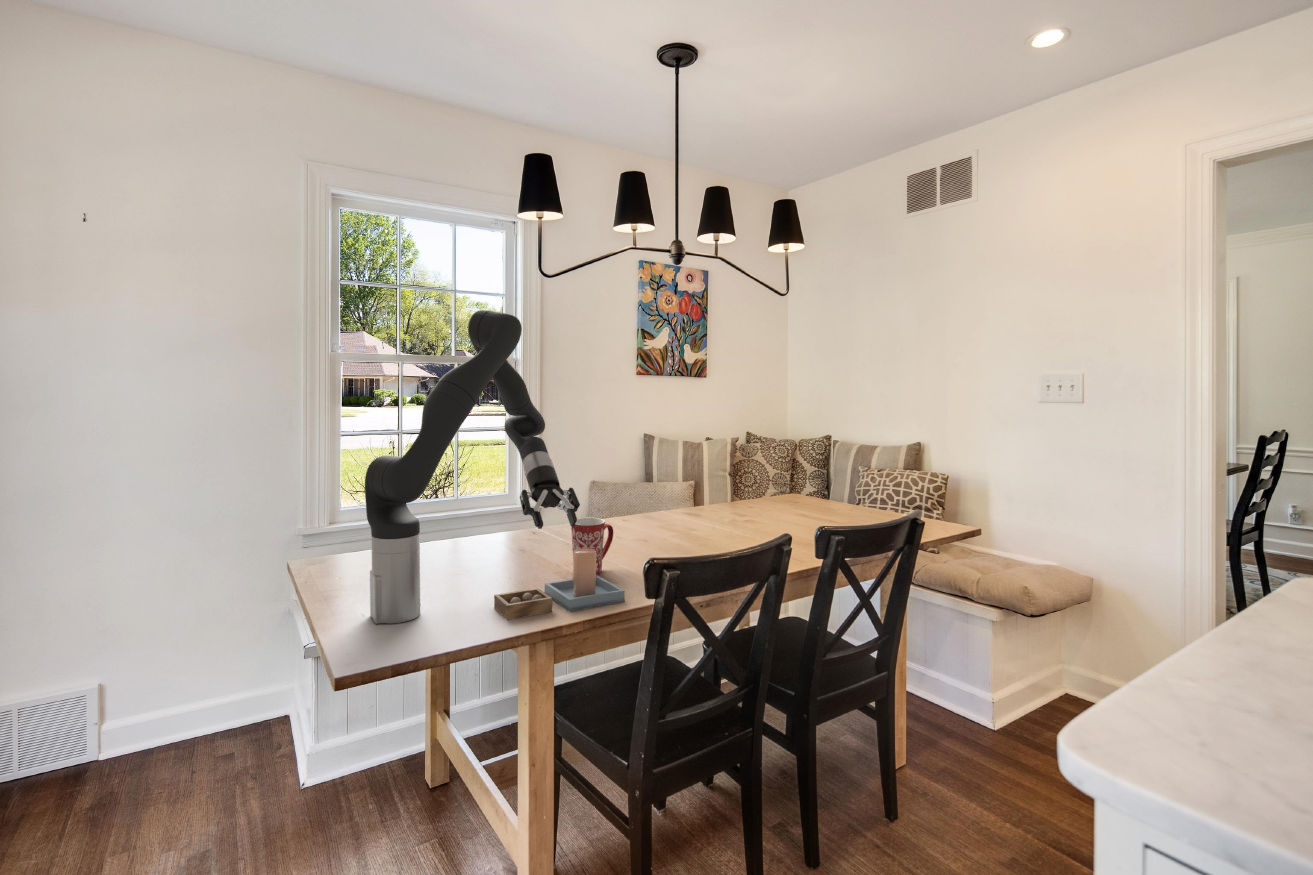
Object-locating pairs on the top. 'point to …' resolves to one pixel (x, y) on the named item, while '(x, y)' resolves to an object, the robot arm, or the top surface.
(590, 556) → the wooden block
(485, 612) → the top surface
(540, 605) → the parts tray
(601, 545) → the mug
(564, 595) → the dish
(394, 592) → the robot arm
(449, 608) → the top surface
